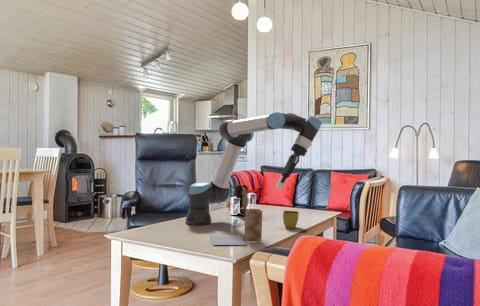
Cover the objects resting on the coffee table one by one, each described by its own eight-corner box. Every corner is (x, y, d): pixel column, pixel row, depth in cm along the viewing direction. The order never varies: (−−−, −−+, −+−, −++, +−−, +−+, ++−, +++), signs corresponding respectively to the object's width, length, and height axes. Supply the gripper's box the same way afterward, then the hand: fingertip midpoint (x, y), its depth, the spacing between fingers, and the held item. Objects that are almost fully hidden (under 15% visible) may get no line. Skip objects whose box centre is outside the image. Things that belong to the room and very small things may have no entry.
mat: (213, 246, 174) (213, 244, 174) (210, 236, 191) (210, 235, 191) (246, 245, 176) (246, 244, 176) (240, 236, 194) (240, 235, 194)
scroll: (244, 217, 248) (245, 186, 247) (225, 214, 255) (226, 185, 255) (255, 214, 260) (256, 185, 260) (237, 212, 268) (238, 183, 268)
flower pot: (297, 229, 215) (298, 213, 215) (282, 228, 217) (282, 212, 217) (298, 226, 224) (299, 211, 224) (283, 225, 226) (284, 210, 226)
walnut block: (246, 242, 182) (247, 211, 182) (244, 239, 189) (245, 209, 188) (261, 242, 183) (262, 211, 183) (258, 239, 190) (259, 209, 190)
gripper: (311, 150, 181) (287, 193, 181) (304, 149, 194) (282, 190, 194) (297, 142, 181) (273, 186, 181) (291, 142, 194) (269, 183, 194)
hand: (278, 188), depth 188 cm, fingers closed
